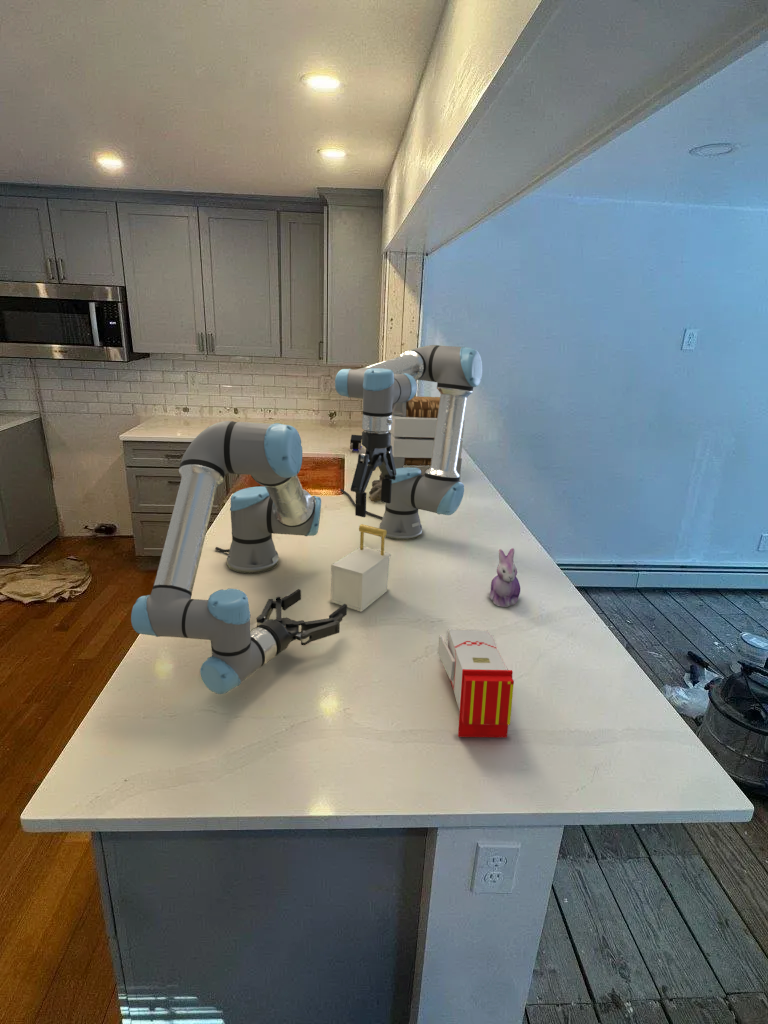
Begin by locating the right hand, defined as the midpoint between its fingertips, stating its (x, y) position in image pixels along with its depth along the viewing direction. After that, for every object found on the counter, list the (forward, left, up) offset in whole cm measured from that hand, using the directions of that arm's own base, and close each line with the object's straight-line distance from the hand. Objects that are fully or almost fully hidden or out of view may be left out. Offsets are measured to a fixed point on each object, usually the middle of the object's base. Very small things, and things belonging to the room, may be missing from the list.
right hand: (373, 509), depth 153 cm
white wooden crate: (-78, +95, -24) cm, 125 cm away
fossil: (-62, +58, -24) cm, 87 cm away
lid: (+2, -5, -14) cm, 15 cm away
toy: (+48, -13, -24) cm, 55 cm away
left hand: (+8, -22, -17) cm, 29 cm away
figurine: (+28, +26, -24) cm, 44 cm away
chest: (+2, -5, -24) cm, 24 cm away
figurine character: (-130, +96, -24) cm, 164 cm away
